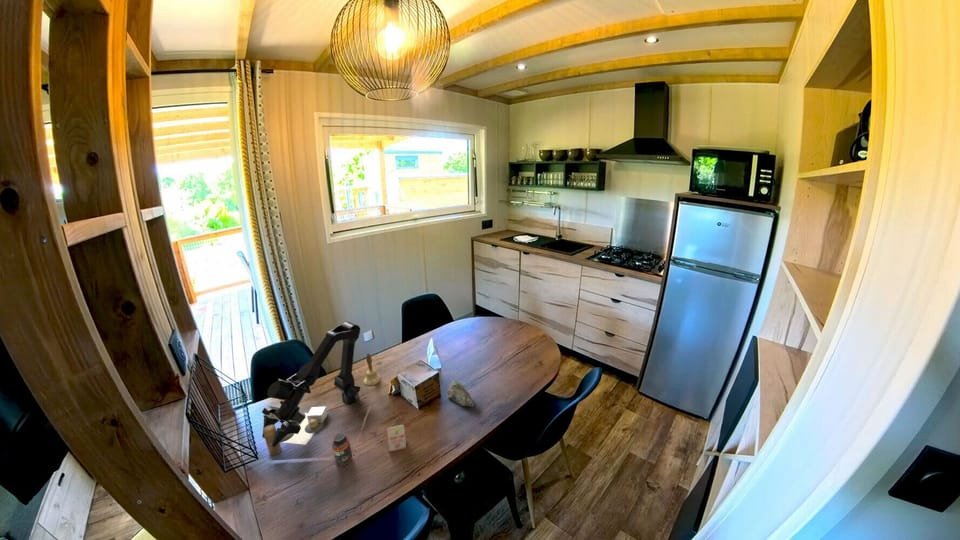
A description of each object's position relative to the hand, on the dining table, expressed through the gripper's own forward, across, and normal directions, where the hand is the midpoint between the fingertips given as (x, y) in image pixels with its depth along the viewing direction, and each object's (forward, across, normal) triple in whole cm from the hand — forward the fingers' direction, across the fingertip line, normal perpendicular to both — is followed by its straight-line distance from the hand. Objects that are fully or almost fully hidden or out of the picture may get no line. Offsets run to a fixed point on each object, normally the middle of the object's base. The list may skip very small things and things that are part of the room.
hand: (268, 442), depth 125 cm
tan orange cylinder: (+4, 0, -6) cm, 7 cm away
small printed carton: (-16, -37, -26) cm, 48 cm away
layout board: (-5, +3, -14) cm, 15 cm away
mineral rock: (-40, -43, -50) cm, 77 cm away
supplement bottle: (-6, -25, -15) cm, 29 cm away
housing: (-10, +2, -18) cm, 21 cm away
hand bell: (-31, +5, -41) cm, 52 cm away
